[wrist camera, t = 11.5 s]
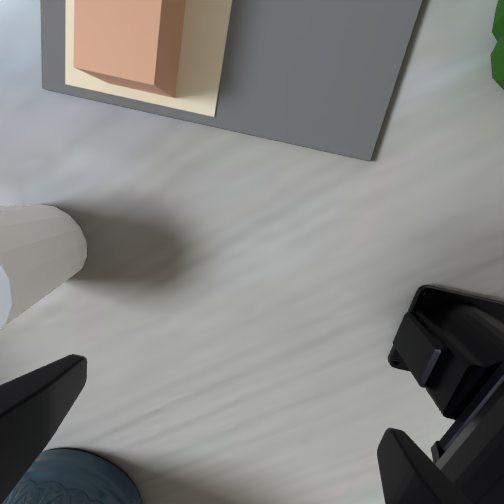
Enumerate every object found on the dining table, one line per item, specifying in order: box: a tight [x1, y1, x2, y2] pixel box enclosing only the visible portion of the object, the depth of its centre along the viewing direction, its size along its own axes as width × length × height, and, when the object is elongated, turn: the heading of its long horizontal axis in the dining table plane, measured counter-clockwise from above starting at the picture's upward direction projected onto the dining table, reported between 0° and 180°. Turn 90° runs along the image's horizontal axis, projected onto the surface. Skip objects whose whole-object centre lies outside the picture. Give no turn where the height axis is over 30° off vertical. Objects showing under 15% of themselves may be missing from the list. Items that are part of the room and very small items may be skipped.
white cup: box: [0, 204, 87, 329], centre depth 17 cm, size 7×7×7 cm
